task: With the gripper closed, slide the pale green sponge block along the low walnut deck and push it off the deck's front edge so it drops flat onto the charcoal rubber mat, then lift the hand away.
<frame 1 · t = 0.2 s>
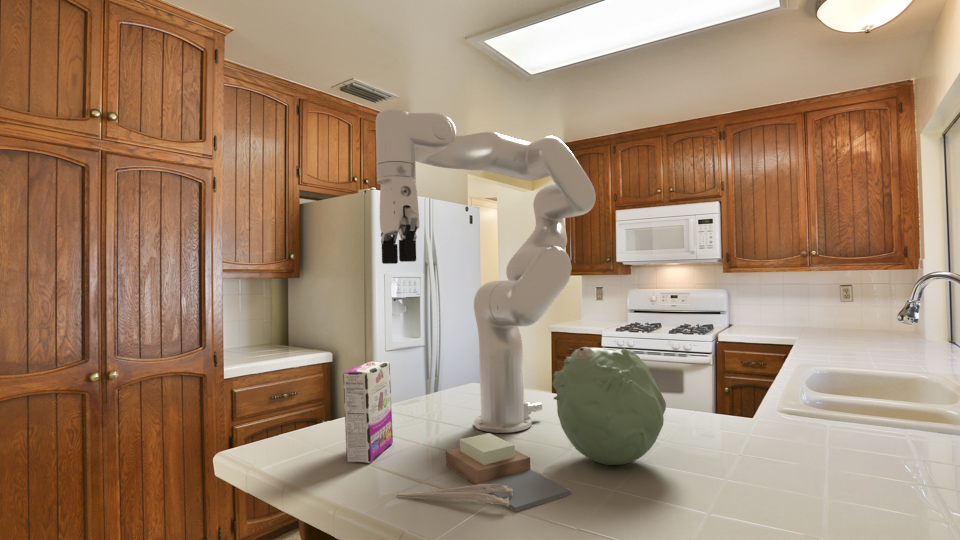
hand: (398, 262, 98), 36 cm above the countertop, tool pointing down, fingers open, 9 cm apart
pale green sponge block: (486, 448, 85), point 3 cm above the countertop, touching deck
deck: (487, 468, 85), on the countertop
tweezers: (452, 500, 73), on the countertop, touching mat
cabbage: (609, 463, 86), on the countertop
candy bar box: (370, 454, 94), on the countertop
mat: (524, 490, 75), on the countertop
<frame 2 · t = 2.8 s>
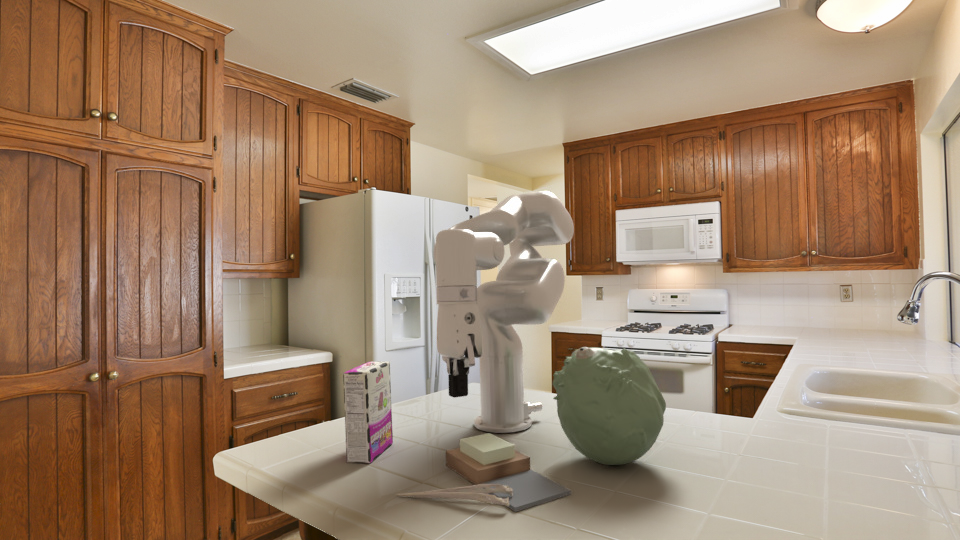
hand: (458, 395, 92), 11 cm above the countertop, tool pointing down, fingers closed
nothing on the countertop moved.
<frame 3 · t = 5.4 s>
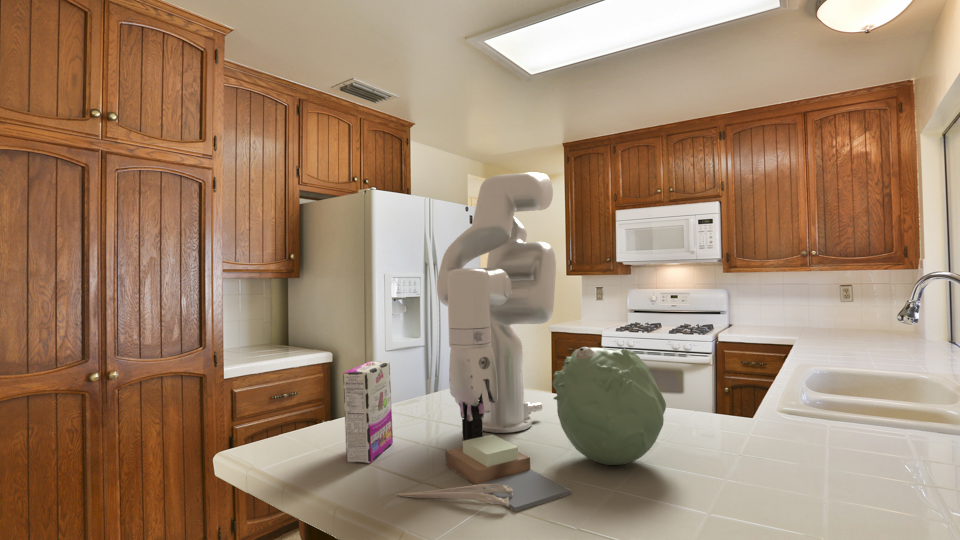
hand: (472, 441, 88), 4 cm above the countertop, tool pointing down, fingers closed
pale green sponge block: (489, 449, 84), point 3 cm above the countertop, touching deck, gripper
everything else where it was.
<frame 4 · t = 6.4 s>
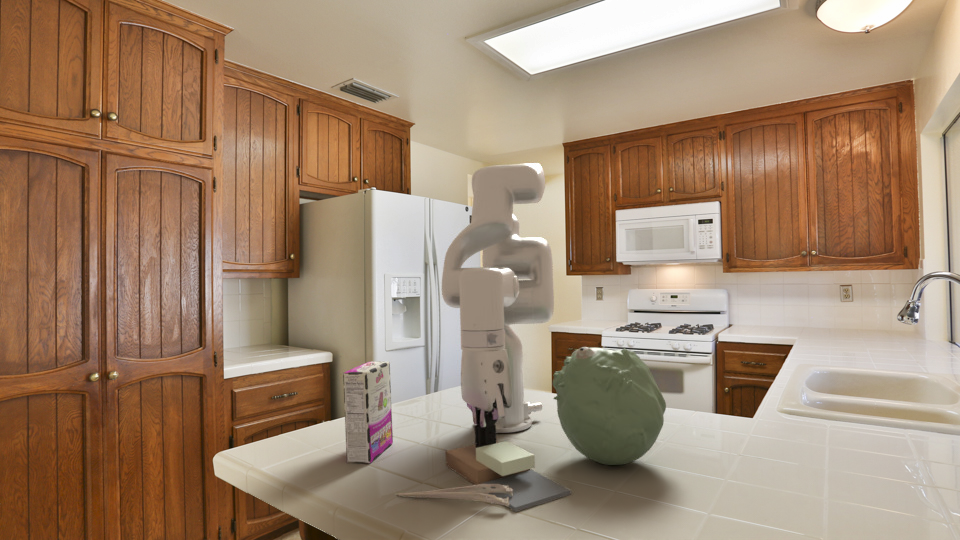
hand: (485, 448, 85), 4 cm above the countertop, tool pointing down, fingers closed
pale green sponge block: (504, 457, 80), point 4 cm above the countertop, touching gripper
everything else where it was.
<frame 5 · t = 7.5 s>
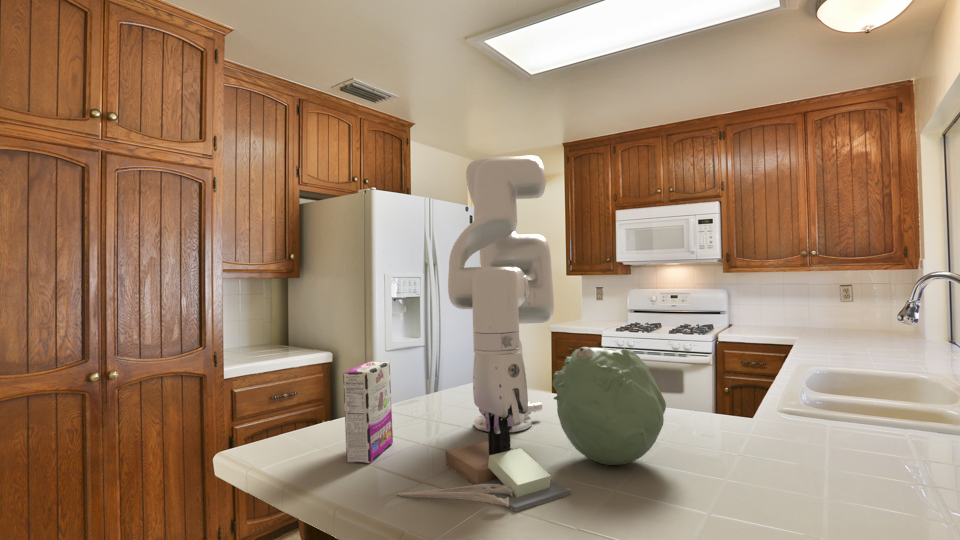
hand: (499, 455, 81), 3 cm above the countertop, tool pointing down, fingers closed
pale green sponge block: (518, 471, 77), point 3 cm above the countertop, tilted 14°, touching gripper
everything else where it was.
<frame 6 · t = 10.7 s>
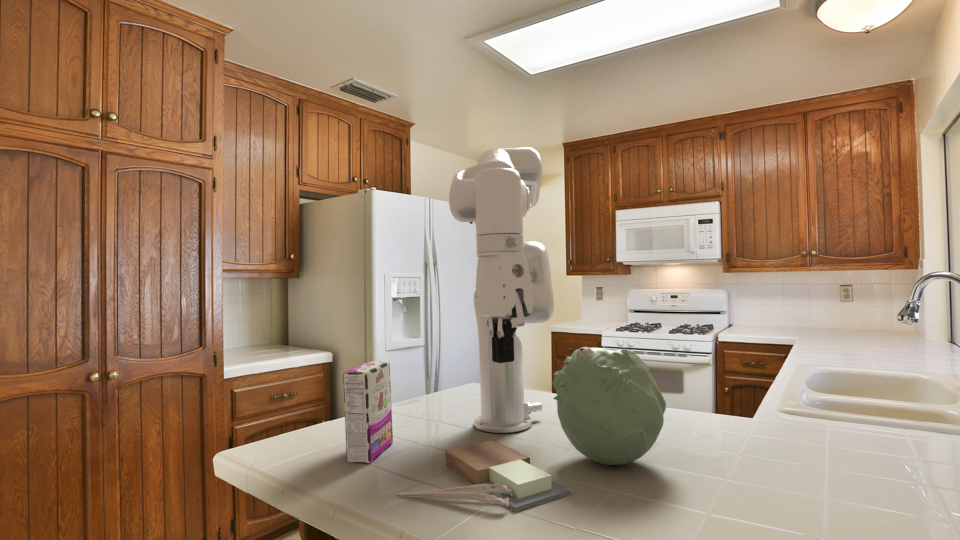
hand: (503, 361, 80), 19 cm above the countertop, tool pointing down, fingers closed
pale green sponge block: (519, 477, 76), point 2 cm above the countertop, touching mat
everything else where it was.
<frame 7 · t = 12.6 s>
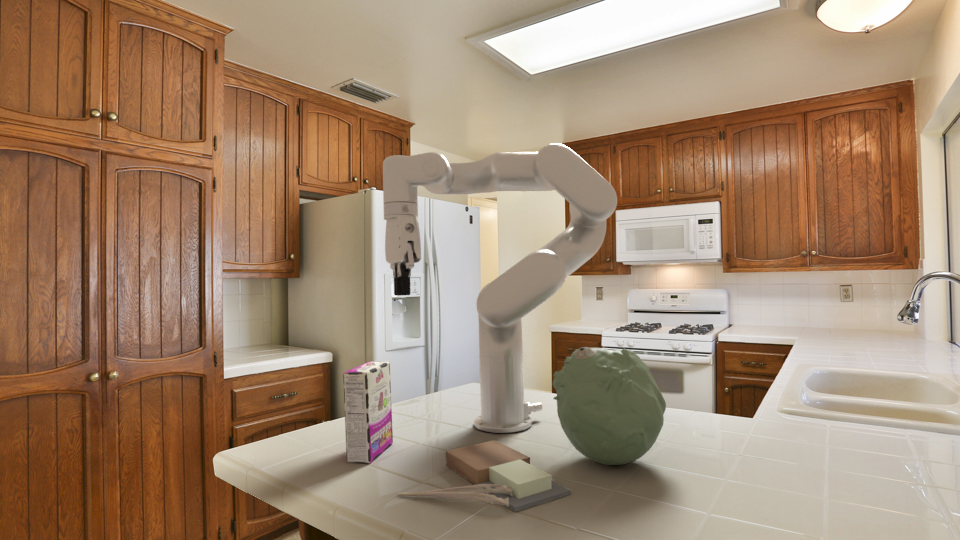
hand: (402, 295, 111), 29 cm above the countertop, tool pointing down, fingers closed
nothing on the countertop moved.
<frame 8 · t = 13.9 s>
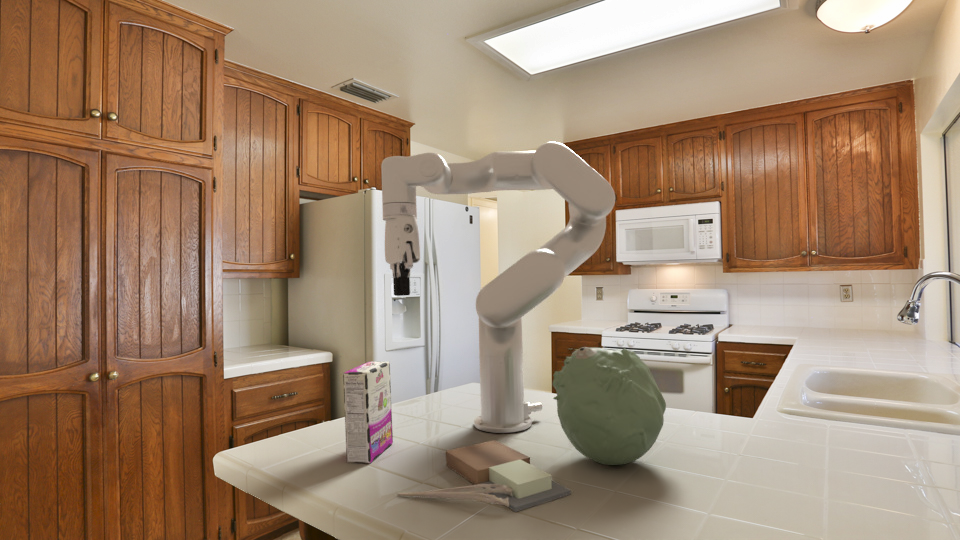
hand: (401, 295, 111), 29 cm above the countertop, tool pointing down, fingers closed
nothing on the countertop moved.
at the end: pale green sponge block inside the target area on the mat (1.1 cm from its centre), point 1.6 cm above the mat's base; pale green sponge block point 1.6 cm above the countertop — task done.
